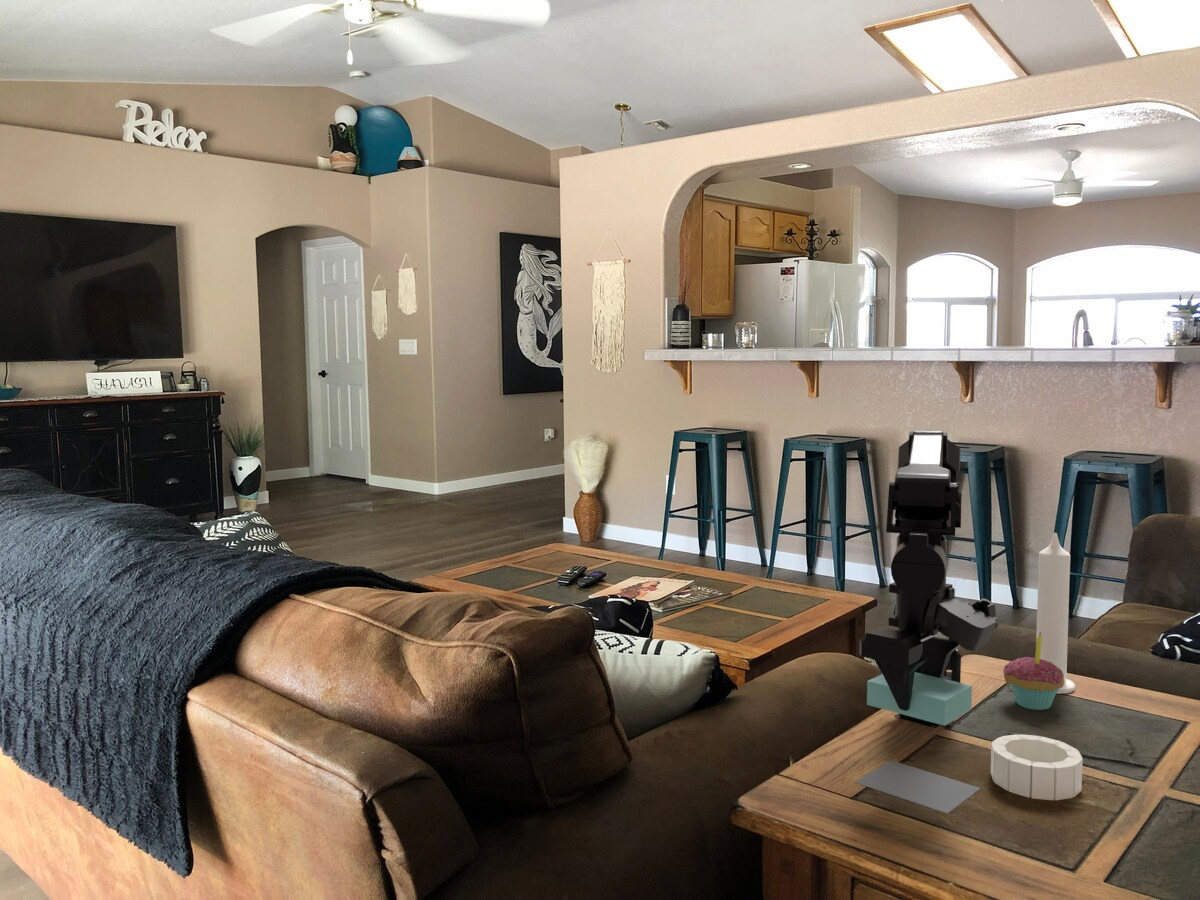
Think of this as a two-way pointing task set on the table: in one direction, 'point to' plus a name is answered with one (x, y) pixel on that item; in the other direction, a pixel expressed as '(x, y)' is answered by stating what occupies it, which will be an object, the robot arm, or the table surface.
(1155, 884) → the table surface
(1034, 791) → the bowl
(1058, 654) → the candle
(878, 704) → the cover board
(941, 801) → the mat
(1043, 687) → the cupcake
